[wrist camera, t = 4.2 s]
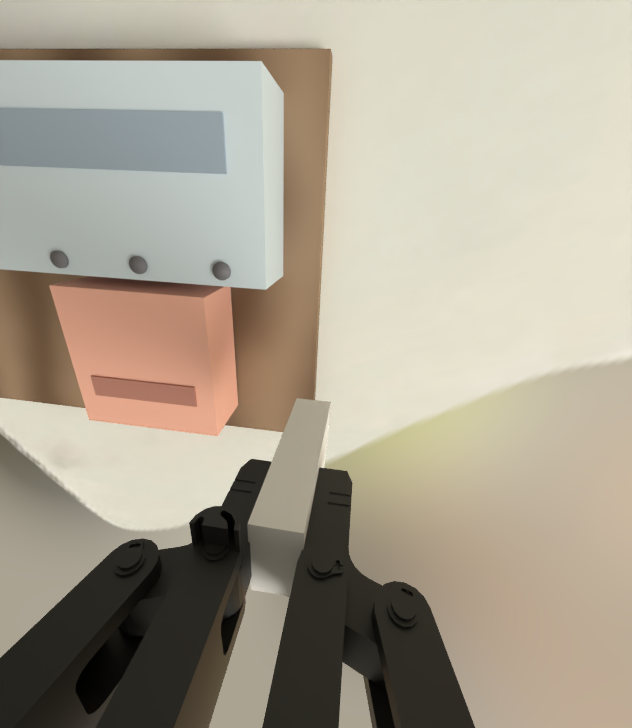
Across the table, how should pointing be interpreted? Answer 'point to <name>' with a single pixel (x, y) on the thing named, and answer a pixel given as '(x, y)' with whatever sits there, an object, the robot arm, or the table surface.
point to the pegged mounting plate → (142, 170)
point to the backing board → (249, 306)
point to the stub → (151, 351)
